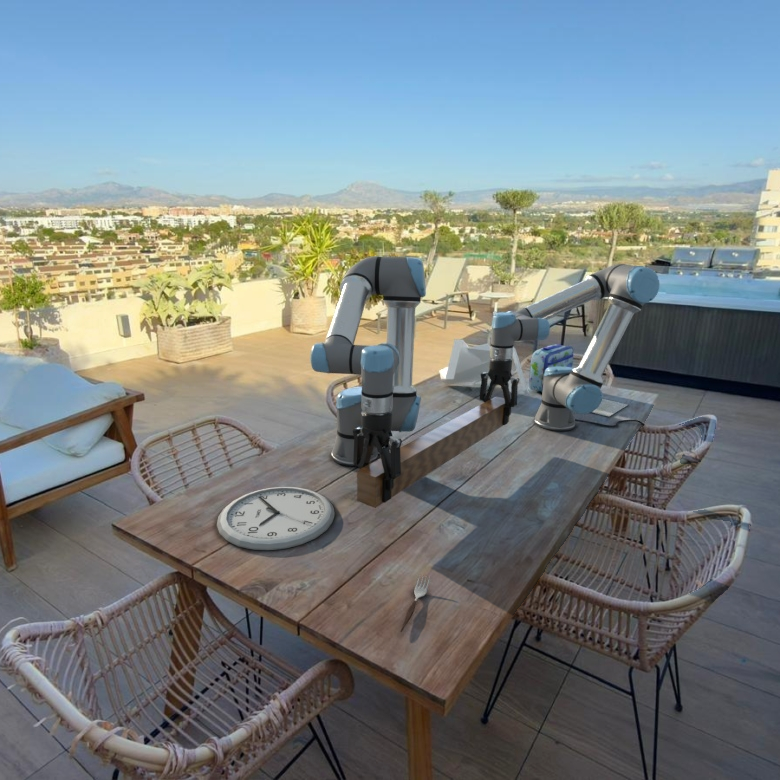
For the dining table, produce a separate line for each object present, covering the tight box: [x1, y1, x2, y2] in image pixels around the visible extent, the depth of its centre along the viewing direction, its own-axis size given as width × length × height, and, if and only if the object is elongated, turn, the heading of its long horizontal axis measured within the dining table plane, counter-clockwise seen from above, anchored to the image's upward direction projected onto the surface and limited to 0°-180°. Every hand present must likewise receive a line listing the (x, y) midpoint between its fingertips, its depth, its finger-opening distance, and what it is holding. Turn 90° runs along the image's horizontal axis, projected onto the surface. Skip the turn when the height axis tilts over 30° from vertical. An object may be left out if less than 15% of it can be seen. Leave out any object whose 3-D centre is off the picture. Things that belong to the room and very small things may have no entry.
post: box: [356, 396, 510, 509], centre depth 158 cm, size 77×6×8 cm, turn 143°
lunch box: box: [528, 344, 574, 393], centre depth 247 cm, size 26×11×21 cm, turn 134°
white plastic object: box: [438, 310, 531, 397], centre depth 245 cm, size 37×45×31 cm
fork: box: [400, 573, 431, 633], centre depth 105 cm, size 3×16×2 cm, turn 160°
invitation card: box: [591, 398, 629, 418], centre depth 226 cm, size 21×1×15 cm
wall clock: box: [216, 486, 336, 551], centre depth 136 cm, size 30×2×30 cm
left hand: (376, 495), depth 133 cm, fingers closed on post, 6 cm apart
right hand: (496, 421), depth 185 cm, fingers closed on post, 6 cm apart
